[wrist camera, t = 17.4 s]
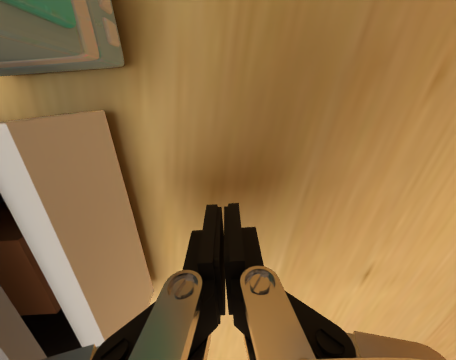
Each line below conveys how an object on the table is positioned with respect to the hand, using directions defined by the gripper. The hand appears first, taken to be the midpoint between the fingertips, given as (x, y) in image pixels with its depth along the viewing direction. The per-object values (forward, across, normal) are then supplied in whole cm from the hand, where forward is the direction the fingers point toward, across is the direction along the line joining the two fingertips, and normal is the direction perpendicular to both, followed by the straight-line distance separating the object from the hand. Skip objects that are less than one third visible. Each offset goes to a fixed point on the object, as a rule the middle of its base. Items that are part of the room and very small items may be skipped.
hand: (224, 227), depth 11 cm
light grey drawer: (+4, +16, +2) cm, 16 cm away
